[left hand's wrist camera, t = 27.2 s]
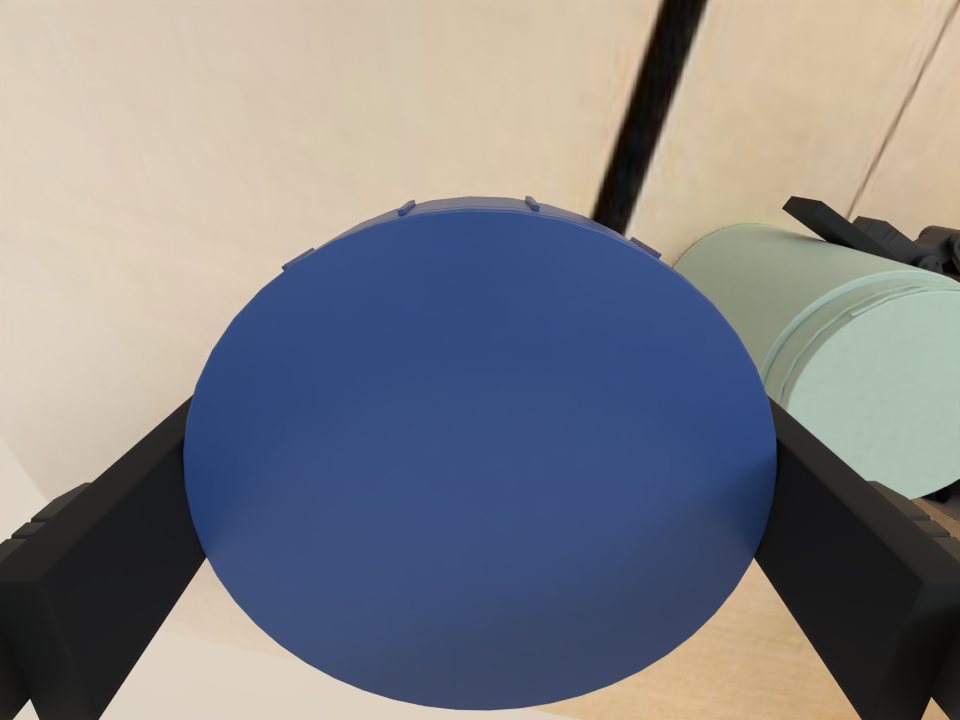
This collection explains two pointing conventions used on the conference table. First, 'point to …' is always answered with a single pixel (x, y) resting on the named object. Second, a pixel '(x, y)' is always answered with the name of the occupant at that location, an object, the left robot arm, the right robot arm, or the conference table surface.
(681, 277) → the lid
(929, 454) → the jar
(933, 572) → the left robot arm
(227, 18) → the conference table surface
